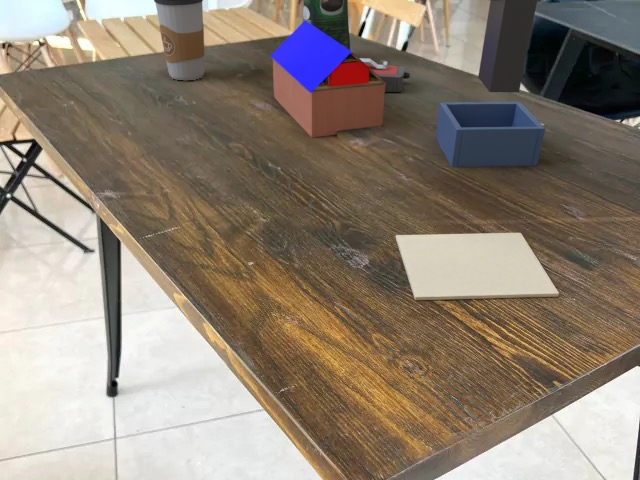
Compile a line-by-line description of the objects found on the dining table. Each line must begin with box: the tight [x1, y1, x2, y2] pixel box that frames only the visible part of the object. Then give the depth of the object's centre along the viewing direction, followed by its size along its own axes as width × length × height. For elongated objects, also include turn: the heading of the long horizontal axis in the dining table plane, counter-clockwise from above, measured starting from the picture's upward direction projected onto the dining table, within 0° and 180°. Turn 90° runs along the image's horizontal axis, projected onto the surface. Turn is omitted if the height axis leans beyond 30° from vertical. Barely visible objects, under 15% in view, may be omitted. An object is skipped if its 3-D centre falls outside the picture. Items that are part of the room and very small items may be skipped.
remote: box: [477, 0, 538, 93], centre depth 62 cm, size 3×5×14 cm, turn 2°
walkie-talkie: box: [358, 57, 411, 93], centre depth 115 cm, size 9×4×20 cm
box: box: [435, 101, 546, 168], centre depth 89 cm, size 12×11×6 cm
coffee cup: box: [153, 0, 205, 81], centre depth 114 cm, size 8×8×15 cm
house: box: [270, 21, 386, 138], centre depth 100 cm, size 12×20×12 cm, turn 20°
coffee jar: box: [302, 0, 351, 51], centre depth 123 cm, size 10×8×19 cm
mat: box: [395, 232, 560, 301], centre depth 67 cm, size 14×12×1 cm
